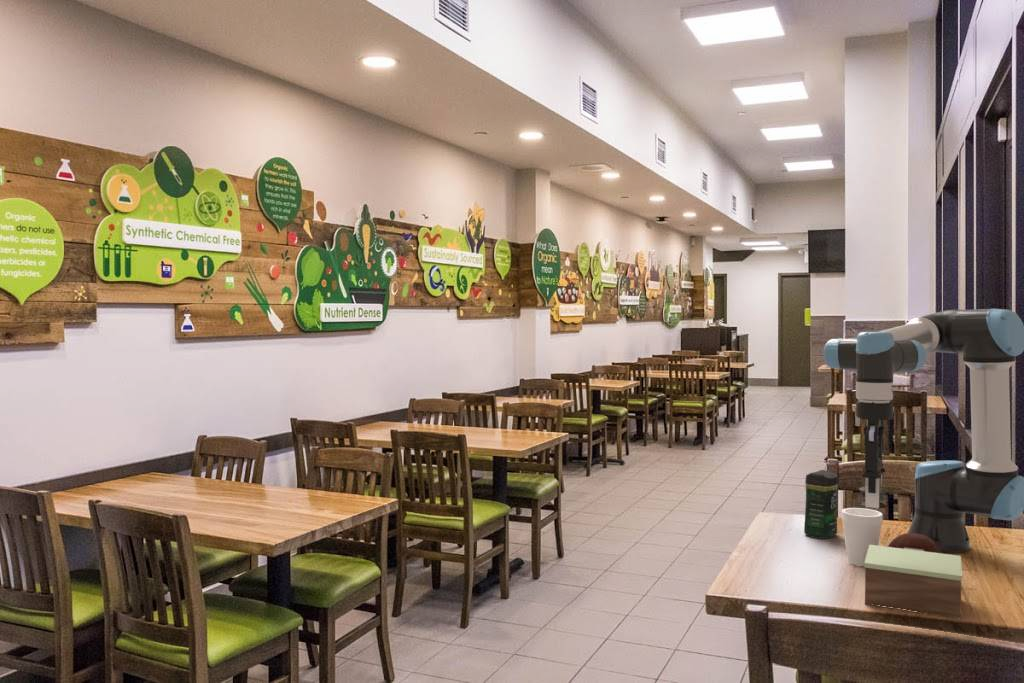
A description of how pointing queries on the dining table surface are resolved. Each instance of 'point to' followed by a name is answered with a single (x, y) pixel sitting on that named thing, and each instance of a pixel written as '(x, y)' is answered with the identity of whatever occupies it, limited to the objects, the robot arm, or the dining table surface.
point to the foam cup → (860, 532)
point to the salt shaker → (881, 490)
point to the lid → (914, 562)
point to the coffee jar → (821, 504)
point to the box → (913, 592)
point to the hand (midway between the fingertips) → (873, 503)
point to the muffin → (915, 542)
